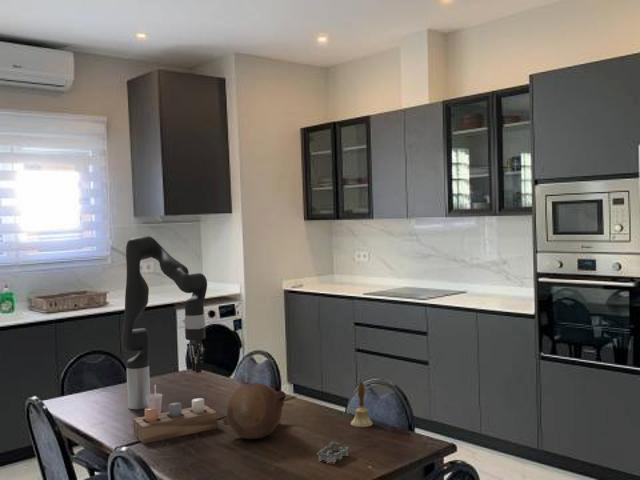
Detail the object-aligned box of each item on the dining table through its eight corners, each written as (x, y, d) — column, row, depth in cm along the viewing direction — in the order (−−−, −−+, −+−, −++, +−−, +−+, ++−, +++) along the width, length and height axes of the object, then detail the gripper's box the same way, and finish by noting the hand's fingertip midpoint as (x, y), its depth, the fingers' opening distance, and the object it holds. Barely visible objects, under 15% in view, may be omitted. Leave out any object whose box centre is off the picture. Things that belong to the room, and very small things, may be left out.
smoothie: (159, 422, 249) (157, 386, 248) (143, 421, 250) (142, 386, 250) (166, 417, 255) (164, 382, 255) (151, 416, 256) (150, 382, 256)
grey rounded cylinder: (167, 419, 238) (166, 403, 238) (179, 417, 240) (178, 401, 240) (171, 422, 234) (171, 406, 234) (183, 420, 237) (183, 404, 236)
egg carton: (335, 451, 213) (334, 439, 212) (352, 456, 208) (351, 444, 208) (314, 460, 205) (313, 448, 205) (331, 465, 200) (330, 453, 200)
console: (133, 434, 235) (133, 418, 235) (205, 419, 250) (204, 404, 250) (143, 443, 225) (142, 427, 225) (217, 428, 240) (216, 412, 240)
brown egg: (143, 424, 233) (143, 408, 233) (156, 422, 236) (155, 406, 236) (147, 427, 229) (146, 411, 229) (159, 425, 232) (159, 408, 232)
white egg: (190, 415, 243) (190, 399, 243) (202, 412, 245) (201, 397, 245) (194, 418, 239) (194, 402, 239) (206, 415, 241) (205, 400, 241)
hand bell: (375, 421, 241) (374, 379, 241) (368, 428, 234) (366, 385, 233) (355, 419, 245) (354, 378, 244) (347, 426, 237) (346, 383, 237)
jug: (261, 450, 215) (294, 436, 243) (274, 393, 216) (305, 385, 244) (210, 433, 222) (247, 421, 250) (222, 377, 223) (258, 372, 251)
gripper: (179, 325, 245) (181, 369, 246) (192, 330, 233) (194, 376, 234) (197, 323, 249) (199, 366, 249) (211, 327, 237) (213, 373, 238)
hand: (196, 371), depth 241 cm, fingers open, 3 cm apart
